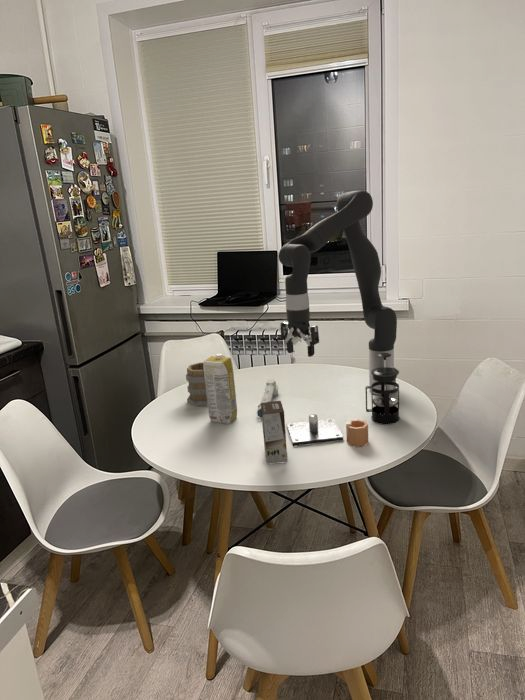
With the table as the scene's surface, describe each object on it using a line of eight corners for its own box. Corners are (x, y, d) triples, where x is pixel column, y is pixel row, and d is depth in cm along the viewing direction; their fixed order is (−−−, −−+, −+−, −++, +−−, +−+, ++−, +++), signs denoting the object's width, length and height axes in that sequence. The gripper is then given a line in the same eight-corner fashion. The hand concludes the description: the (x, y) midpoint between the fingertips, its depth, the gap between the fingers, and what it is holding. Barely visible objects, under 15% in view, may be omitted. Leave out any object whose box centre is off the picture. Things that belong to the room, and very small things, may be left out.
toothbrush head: (254, 408, 184) (265, 375, 206) (256, 424, 186) (266, 389, 209) (269, 408, 183) (278, 374, 205) (270, 424, 185) (279, 389, 208)
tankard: (199, 408, 197) (195, 371, 192) (182, 400, 206) (177, 364, 202) (241, 393, 208) (238, 358, 204) (223, 386, 218) (220, 352, 213)
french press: (399, 412, 180) (399, 349, 173) (403, 424, 171) (403, 357, 164) (365, 413, 181) (363, 350, 174) (367, 425, 172) (365, 359, 166)
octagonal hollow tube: (364, 436, 165) (364, 417, 163) (370, 445, 159) (369, 425, 157) (344, 438, 164) (343, 419, 162) (349, 447, 158) (348, 427, 157)
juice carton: (240, 416, 187) (234, 352, 180) (230, 425, 180) (223, 360, 173) (217, 413, 191) (210, 351, 184) (206, 422, 184) (199, 358, 177)
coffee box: (288, 462, 153) (284, 412, 148) (266, 464, 152) (262, 414, 148) (284, 447, 162) (281, 400, 157) (264, 450, 161) (259, 402, 157)
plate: (333, 421, 177) (332, 404, 175) (343, 440, 163) (342, 422, 161) (286, 427, 176) (285, 410, 174) (292, 446, 162) (291, 427, 160)
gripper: (322, 306, 166) (324, 354, 171) (288, 302, 176) (291, 348, 180) (308, 311, 161) (310, 360, 166) (273, 307, 170) (277, 354, 175)
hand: (300, 354), depth 173 cm, fingers open, 8 cm apart
